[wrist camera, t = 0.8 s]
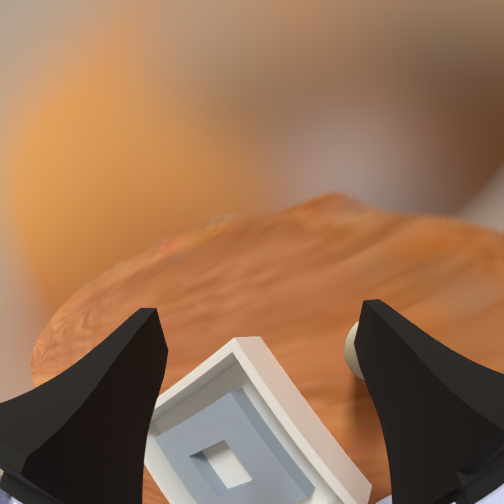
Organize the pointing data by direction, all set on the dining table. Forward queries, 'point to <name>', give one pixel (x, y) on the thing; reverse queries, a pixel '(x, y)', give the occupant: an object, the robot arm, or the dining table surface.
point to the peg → (352, 353)
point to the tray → (273, 413)
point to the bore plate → (245, 449)
